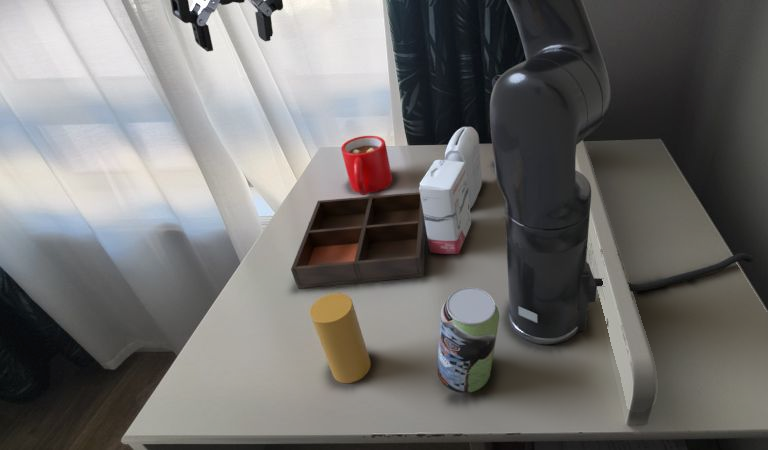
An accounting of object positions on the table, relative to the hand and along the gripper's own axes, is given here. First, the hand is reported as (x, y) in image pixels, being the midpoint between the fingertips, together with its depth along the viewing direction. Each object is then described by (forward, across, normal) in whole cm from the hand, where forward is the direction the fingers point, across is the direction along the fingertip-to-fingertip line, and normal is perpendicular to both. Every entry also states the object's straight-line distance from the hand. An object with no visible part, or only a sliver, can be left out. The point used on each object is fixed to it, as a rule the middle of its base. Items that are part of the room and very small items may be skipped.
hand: (237, 44), depth 72 cm
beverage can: (+16, -6, -56) cm, 59 cm away
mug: (+25, +14, -13) cm, 32 cm away
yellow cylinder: (+19, -13, -45) cm, 50 cm away
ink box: (+20, +12, -36) cm, 43 cm away
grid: (+22, +3, -27) cm, 35 cm away
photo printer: (+21, +22, -30) cm, 42 cm away
